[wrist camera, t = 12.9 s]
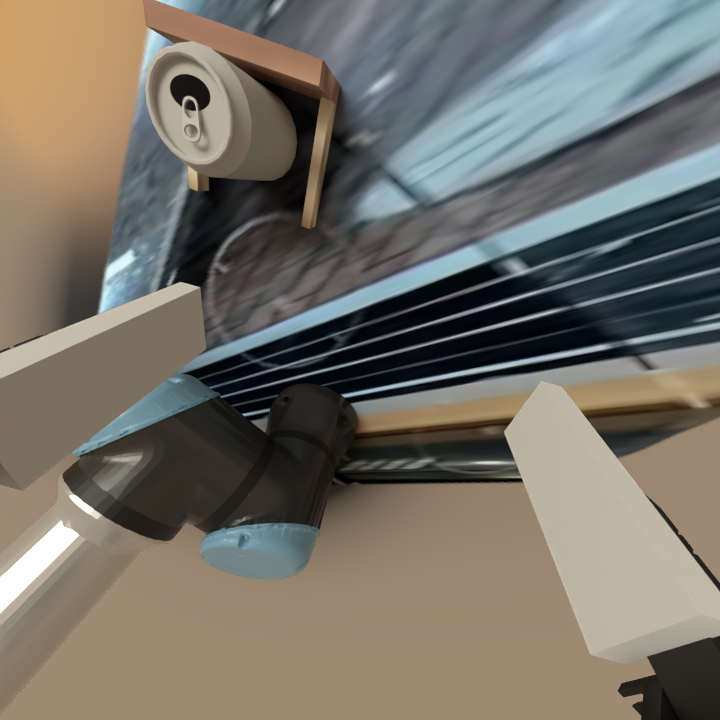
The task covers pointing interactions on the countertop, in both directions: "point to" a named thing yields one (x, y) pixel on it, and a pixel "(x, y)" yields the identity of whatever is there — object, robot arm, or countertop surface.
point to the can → (218, 115)
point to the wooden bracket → (265, 65)
